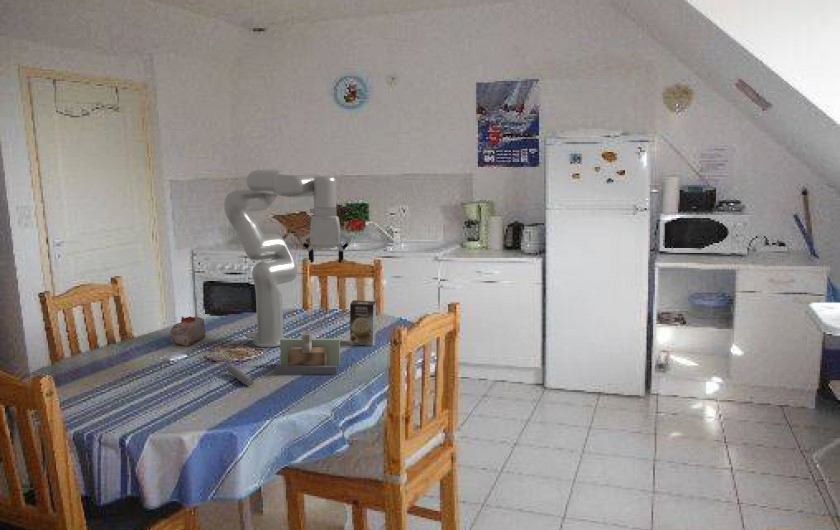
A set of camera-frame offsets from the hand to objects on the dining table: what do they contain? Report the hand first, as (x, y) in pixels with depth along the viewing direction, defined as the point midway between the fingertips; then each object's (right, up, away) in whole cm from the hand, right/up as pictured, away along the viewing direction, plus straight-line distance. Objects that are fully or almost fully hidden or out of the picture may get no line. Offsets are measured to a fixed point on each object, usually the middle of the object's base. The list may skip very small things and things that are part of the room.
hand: (326, 262), depth 229 cm
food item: (-56, -31, +25) cm, 68 cm away
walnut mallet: (-5, -36, -6) cm, 37 cm away
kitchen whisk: (-29, -37, -11) cm, 48 cm away
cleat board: (-5, -36, -6) cm, 37 cm away
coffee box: (+11, -31, +24) cm, 40 cm away
